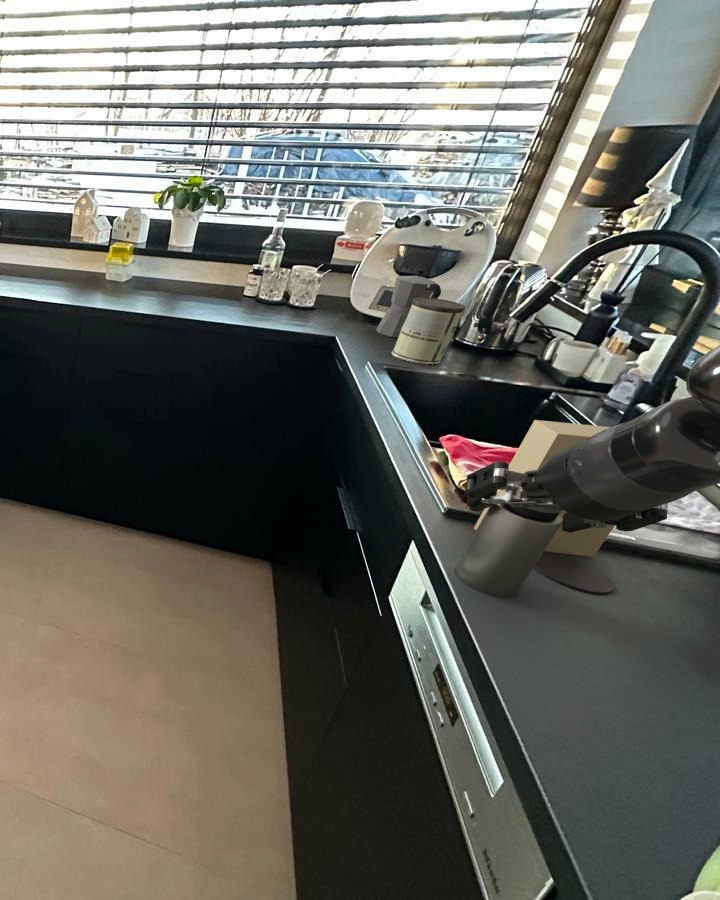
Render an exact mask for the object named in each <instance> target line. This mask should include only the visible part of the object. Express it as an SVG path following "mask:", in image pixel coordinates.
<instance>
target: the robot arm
mask: <svg viewBox="0 0 720 900" xmlns="http://www.w3.org/2000/svg"><path fill="white" fill-rule="evenodd" d="M685 384H686V391H687V393H688V394H689V395H687V396H681V397H678V398H675V399H672V400H669V401H667V402H665V403H663V404H660V405H658V406H656V407H654V408H652V409H650V410H648V411H646V412H644V413H642V414H641V415H638V416H637V417H635V418H632V419H630V420H628V421H626V422H623V423H618V424H617V425H613V426H609V427H610V428H608V429H605V430H603V431H601V432H599V433H597V434H595V435H593V436H591V437H589V438H587V439H585V440H583V441H581V442H579V443H577V444H575V445H573V446H571V447H569V448H567V449H565V450H563V451H561V452H559V453H558V454H556V455H555V456H553V457H552V458H551V459H550V460H549V461H548V462H547V463H546V464H545V465H544V466H543V467H542V468H541V469H538V470H531V471H527V472H525V473H519V472H514V471H510V470H508V469H509V465H510V463H509V462H506V461H494V462H492V463H490V464H487V465H486V466H484V467H482V468H479V469H477V470H475V471H473V472H471V473H469V474H467V475H466V484H465V490H464V494H463V495H464V497H465V498H467V501H466V506H467V507H469V511H471V512H477V513H479V512H481V511H484V509H485V508H488V507H490V506H492V505H494V504H504V503H507V504H509V505H510V506H512V507H544V508H546V509H560V510H564V511H567V512H566V513H565V514H564V515H563V522H562V530H563V531H566V532H571V533H572V532H575V531H578V530H585V529H588V528H591V527H596V528H605V527H606V526H607V525H615V529H616V530H618V531H621V532H633V531H636V530H639V529H642V528H645V527H648V526H651V525H653V524H657V523H659V522H662V521H665V520H668V511H669V510H668V509H669V508H668V507H669V503H673V502H676V501H678V500H681V499H683V498H686V497H687V496H689V495H691V494H692V493H694V492H697V491H701V490H703V489H707V488H709V487H712V486H715V485H716V486H717V485H718V484H720V344H719V345H717V346H716V347H714V348H712V349H711V350H709V351H708V352H706V353H705V354H703V355H702V356H701V357H700V358H699V359H698V360H697V361H696V362H695V363H694V365H692V367H691V369H690V371H689V373H688V375H687V378H686V383H685ZM505 487H506V488H505ZM498 489H500V490H505V494H504V495H501V496H497V490H498ZM521 489H522V490H523V492H524V493H525V495H526V497H527V498H522V499H520V492H521Z"/></svg>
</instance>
